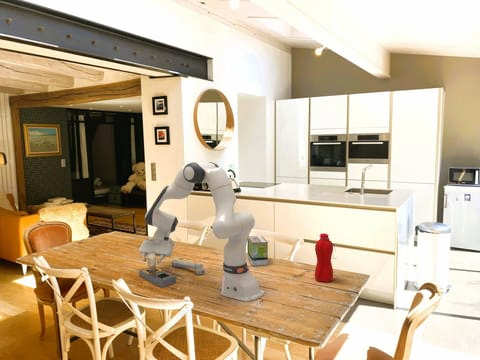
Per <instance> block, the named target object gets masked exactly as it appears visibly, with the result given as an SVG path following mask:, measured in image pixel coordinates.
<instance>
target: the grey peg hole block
mask: <svg viewBox="0 0 480 360" xmlns="http://www.w3.org/2000/svg"><path fill="white" fill-rule="evenodd" d="M138 271H139V277H140V278H142V279H144V280H146V281H149V282H150V283H152V284H154V285H155V286H157V287H160V288H165V287H168V286H170V285H174V284H177V276H176V275H174V274H172V273H169V272H167V271H165V270H164V269H161V268H159V267H157V266H156V271H155V272H152V273H149V270H148V267H146V268H143V269H139V270H138Z"/></svg>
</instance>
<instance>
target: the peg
mask: <svg viewBox="0 0 480 360" xmlns="http://www.w3.org/2000/svg"><path fill="white" fill-rule="evenodd" d="M147 263H148V265H147V266H148V267H147V268H148V270H149V273H152V272H155V271H156V267H157V264H156V263H157V261H156V256H155V252H148V255H147Z"/></svg>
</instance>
